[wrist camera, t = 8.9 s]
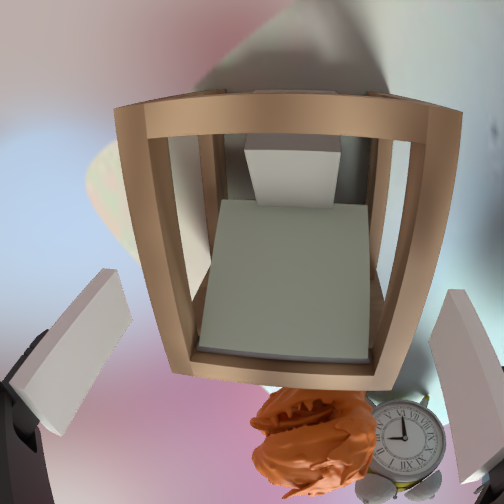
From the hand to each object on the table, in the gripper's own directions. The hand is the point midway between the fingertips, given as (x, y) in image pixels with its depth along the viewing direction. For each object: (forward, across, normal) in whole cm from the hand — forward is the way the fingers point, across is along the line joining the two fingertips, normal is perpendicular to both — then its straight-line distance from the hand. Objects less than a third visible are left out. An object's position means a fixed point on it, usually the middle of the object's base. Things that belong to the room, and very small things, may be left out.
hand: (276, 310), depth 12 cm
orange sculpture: (+15, -3, +16) cm, 22 cm away
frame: (+15, 0, 0) cm, 15 cm away
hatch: (+8, 0, +4) cm, 9 cm away
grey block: (+13, 0, -1) cm, 13 cm away
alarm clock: (+15, -14, +28) cm, 35 cm away
